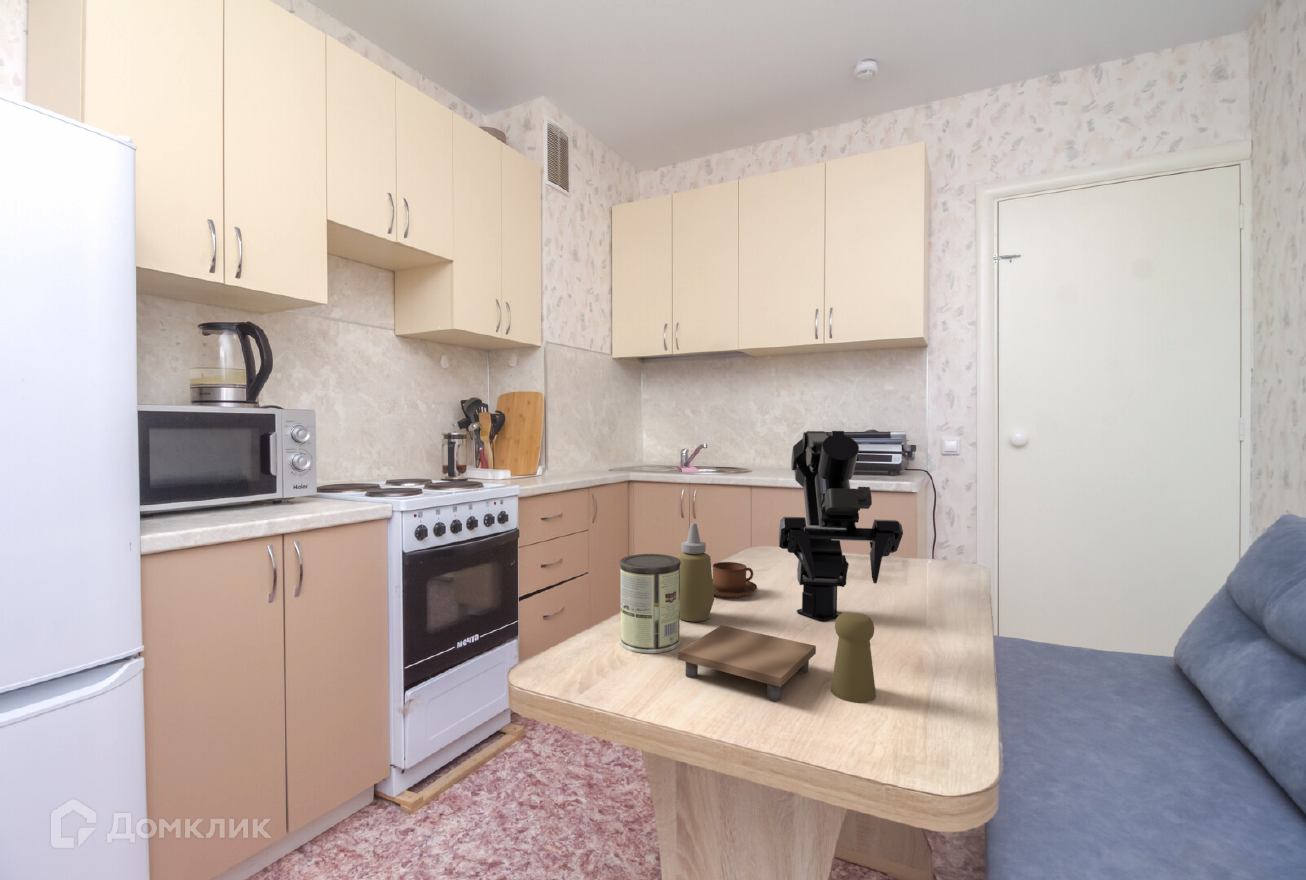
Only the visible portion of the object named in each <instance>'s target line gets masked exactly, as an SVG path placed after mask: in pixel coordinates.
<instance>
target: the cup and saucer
mask: <svg viewBox="0 0 1306 880" xmlns="http://www.w3.org/2000/svg"><path fill="white" fill-rule="evenodd" d="M747 571H749V573H750V575H749V577H747ZM753 577H754V571H753V569H752V568H750V567H747V565H746V564H743V563H741V562H734V561H722V562H715V563H713V564H712V581H713V592H714V596H716V597H720V598H728V599H729V598H735V599H736V598H743V597H748V596H750V595H753V594H754V593H755V592H756V591H757V589H758V586H757V584H756V583H754V582H753V581H751V580H753Z"/></svg>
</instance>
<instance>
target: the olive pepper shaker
mask: <svg viewBox="0 0 1306 880" xmlns="http://www.w3.org/2000/svg"><path fill="white" fill-rule="evenodd" d="M834 629H835V633H836V635H837V636H838V639H837V641H838V642H837V647H836V652H835V653H836V654H835V661H834V666H833V672H832V677H831V685H830V692H831V694H832V695H834V696H835V697H836V698H838V699H840V700H842V701H846V702H850V703H855V704H856V703H858V704H864V703H865V702H866V703H869V702H868V701H871V700H873V701H875V700H876V698H877V693H876V685H875V676H874V668H873V667H874V666H873V659H872V658H873V657H872V650H871V640H872V639H873V637H874V634H875V625H874V622H873V620H872V618H871V617H870V616H868V615H866V614H865V613H864V614H863V613H859V612H854V611H853V612H852V611H851V612H850V611H849V612H848V611H847V612H842V614H840V615H839V616H838V617H836V618H835V622H834ZM875 697H876V698H875ZM861 702H862V703H861ZM863 702H864V703H863ZM871 702H872V701H871Z"/></svg>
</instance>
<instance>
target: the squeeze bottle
mask: <svg viewBox="0 0 1306 880" xmlns="http://www.w3.org/2000/svg"><path fill="white" fill-rule="evenodd" d="M689 525H690V526H689V531H688V534H687V540H686V541H683V542H681V544H680V545H681V546H680V547H681V550H680V551H681V552H680V553H678V554H677V555H676V558H678V559H680V561H681V564H680V610H679V620H681V621H682V620H683V621H686V622H703V621H706V620H708V619H709V617H710V614H711V611H712V609H713V606H714V602H715V595H714V592H713V581H712V579H713V569H712V562H711V556H710V555H709V554H707V552H706V546H707V545H706V542H705V541H704V542H703V541H701V537H700V534H699V528H698V523H690V524H689Z"/></svg>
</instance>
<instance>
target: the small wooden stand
mask: <svg viewBox="0 0 1306 880" xmlns="http://www.w3.org/2000/svg"><path fill="white" fill-rule="evenodd" d="M816 647H817V645H813V644H809V643H805V642H800V641H796V640H791V639H787V638H783V637H777V636H773V635H770V634H765V633H760V632H755V631H752V630H751V631H750V630H746V629H741V628H738V627H737V628H736V627H732V626H727V625H723V624H721V625H720V626H717V627H716V628H715V629H713V630H711V631H709V632H708V633H706V634H705V635H702V636H701V637H699V638H698V639H697V640H695V641H693V642H691V643H690V644H688V645H686V646H685V647H683V648H681V649H679V650H678V651H677V660H678V661H682V662H685V677H686V678H690V679H691V678H694V679H695V678H696V677H698V675H699V671H698V670H699V669H698V668H699V666H701V667H703V668H704V667H705V668H708V669H712V670H715V671H720V672H723V673H727V674H731V675H734V676H738V677H742V678H746V679H748V680H749V679H750V680H752V681H757V682H760V683H764V684H767V686H766V687H767V690H766V692H767V693H766V697H767V698H766V699H767V700H769V701H771V702H779V701H781V698H782V686H783V685H784V684H785V683H786V682H787V681H789V679H790V678H791V677H793V676H794V674H796V673H800V674H807V673H809V672H810V671H809V670H810V669H809V667H810V666H809V665H810V664H809V663H810V660H811V659H812V658H813V657H814V656H815V655H816V653H817V652H816V651H817V650H816V649H817V648H816Z"/></svg>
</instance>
